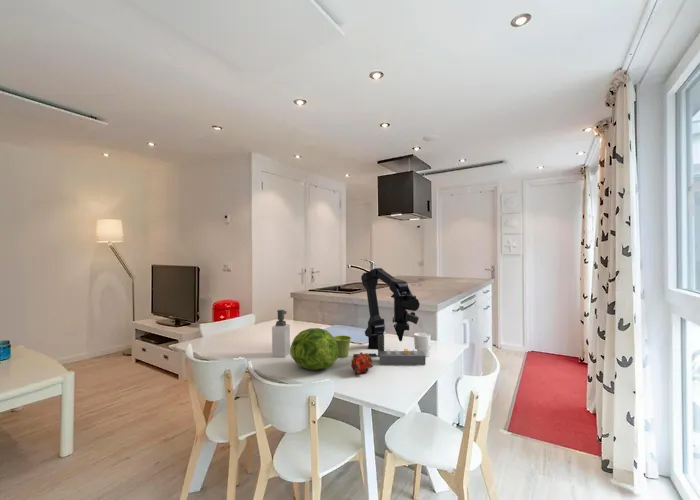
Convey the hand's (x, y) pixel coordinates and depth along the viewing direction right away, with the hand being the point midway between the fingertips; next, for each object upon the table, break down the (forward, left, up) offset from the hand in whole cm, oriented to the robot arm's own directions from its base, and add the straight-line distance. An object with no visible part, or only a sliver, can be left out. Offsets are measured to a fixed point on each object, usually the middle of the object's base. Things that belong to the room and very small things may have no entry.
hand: (400, 341), depth 156 cm
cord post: (-9, +4, -8) cm, 13 cm away
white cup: (+11, +5, -8) cm, 15 cm away
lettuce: (-40, -13, -8) cm, 43 cm away
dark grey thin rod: (-17, +3, -8) cm, 19 cm away
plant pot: (-28, +4, -8) cm, 30 cm away
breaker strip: (0, -5, -8) cm, 10 cm away
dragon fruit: (-18, -18, -8) cm, 27 cm away
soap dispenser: (-58, +6, -8) cm, 59 cm away
